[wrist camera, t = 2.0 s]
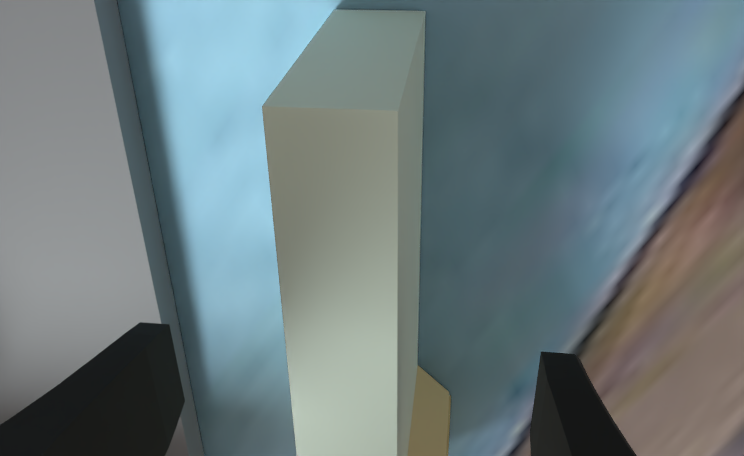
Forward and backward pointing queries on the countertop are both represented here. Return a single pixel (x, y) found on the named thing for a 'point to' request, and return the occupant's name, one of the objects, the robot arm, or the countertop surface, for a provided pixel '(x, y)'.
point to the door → (354, 238)
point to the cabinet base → (75, 204)
